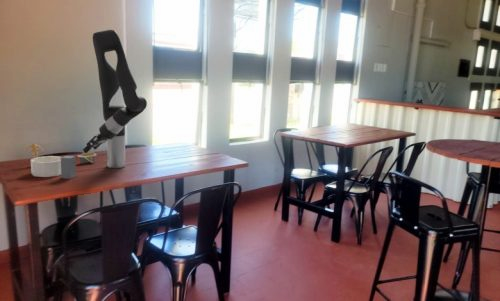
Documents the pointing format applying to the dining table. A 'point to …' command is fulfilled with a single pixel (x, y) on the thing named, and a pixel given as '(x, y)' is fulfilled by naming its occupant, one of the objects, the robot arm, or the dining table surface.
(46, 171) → the white round bowl
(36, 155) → the figurine
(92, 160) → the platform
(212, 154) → the dining table surface
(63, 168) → the grey tall block
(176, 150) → the dining table surface
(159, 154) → the dining table surface
